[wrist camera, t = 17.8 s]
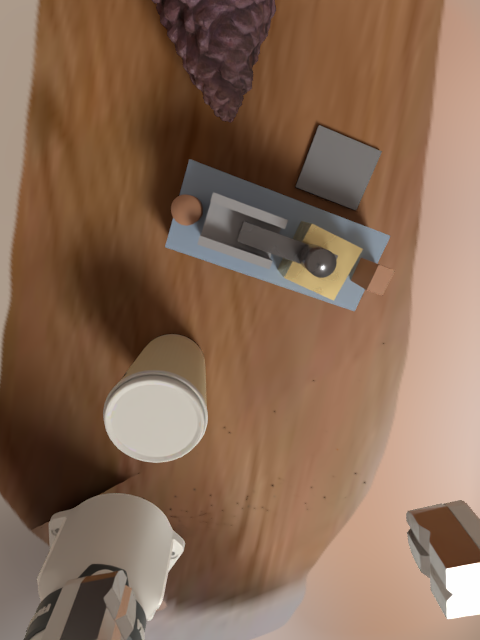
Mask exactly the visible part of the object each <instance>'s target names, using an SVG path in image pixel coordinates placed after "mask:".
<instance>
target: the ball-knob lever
mask: <svg viewBox="0 0 480 640" xmlns="http://www.w3.org/2000/svg"><path fill="white" fill-rule="evenodd" d="M237 242H240V243H243V244H245V245H248V246H251V247H254V248H257V249H260V250H262V251H265V252H268V253H271V254H274V255H277V256H279V257H282V258H285V259H288V260H291V261H294V262H296V263H299V264H301V265H302V266H303V267H304V268H305V269H307V270H308V271H309V272H310V273H311V274H313V275H314V276H316V277H319V278H324V277H327V276H329V275H331V274H332V273H333V271H334V270H335V268H336V264H337V261H336V260H337V257H338V255H336V254H334V253H332V252H331V251H329V250H327V249H325V248H322V247H320V246H318V245H315V244H310V245H309V244H306V243H303V242H301V241H298V240H295V239H292V238H290V237H287V236H284V235H281V234H279V233H276V232H273V231H270V230H268V229H265V228H262V227H259V226H257V225H254V224H251V223H248V222H246V221H243V222H242V225H241V228H240V231H239V234H238V237H237Z"/></svg>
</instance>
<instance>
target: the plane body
mask: <svg viewBox="0 0 480 640" xmlns="http://www.w3.org/2000/svg"><path fill="white" fill-rule="evenodd" d="M171 213H172V216H173V220H172V224H171V228H170V231H169V235H168V238H167V242H166V246H165V247H166V248H169V249H172V250H175V251H178V252H181V253H184V254H187V255H190V256H193V257H196V258H199V259H202V260H205V261H208V262H211V263H214V264H216V265H219V266H222V267H225V268H228V269H231V270H234V271H237V272H240V273H243V274H246V275H249V276H252V277H255V278H258V279H261V280H264V281H267V282H270V283H273V284H275V285H278V286H281V287H284V288H287V289H290V290H293V291H296V292H299V293H302V294H305V295H308V296H311V297H314V298H317V299H320V300H323V301H326V302H329V303H332V304H334V305H337V306H340V307H343V308H346V309H349V310H352V311H355V309H356V307H357V305H358V303H359V301H360V299H361V297H362V295H363V293H364V290H367V291H370V292H373V293H376V294H379V295H382V296H383V294H384V292H385V290H386V288H387V286H388V284H389V282H390V280H391V278H392V276H393V274H394V272H395V270H392V269H390V268H387V267H385V266H382V265H380V264H377V263H378V261H379V259H380V257H381V255H382V253H383V251H384V249H385V246H386V244H387V242H388V240H389V238H390V236H389V235H387V234H384V233H381V232H379V231H376V230H374V229H371V228H368V227H366V226H363V225H361V224H358V223H355V222H353V221H350V220H348V219H345V218H342V217H340V216H337V215H334V214H332V213H329V212H327V211H324V210H321V209H319V208H316V207H314V206H311V205H308V204H306V203H303V202H301V201H298V200H295V199H293V198H290V197H287V196H285V195H282V194H280V193H277V192H274V191H272V190H269V189H267V188H264V187H261V186H259V185H256V184H254V183H251V182H248V181H246V180H243V179H240V178H238V177H235V176H233V175H230V174H227V173H225V172H222V171H220V170H217V169H214V168H212V167H209V166H207V165H204V164H201V163H199V162H196V161H193V160H191V159H189V162H188V166H187V169H186V173H185V177H184V180H183V184H182V188H181V191H180V195H179V196H178V197H176V198H175V199H174V201H173V202H172V205H171ZM243 221H246V222H248V223H251V224H254V225H257V226H259V227H262V228H265V229H268V230H270V231H273V232H276V233H279V234H281V235H284V236H287V237H290V238H292V239H293V237H294V235H295V233H296V231H297V229H298V227H299V225H300V223H301V221H303V222H308V223H312V224H314V225H316V226H318V227H320V228H322V229H324V230H326V231H328V232H330V233H332V234H334V235H336V236H338V237H340V238H342V239H344V240H346V241H348V242H350V243H352V244H354V245H356V246H358V247H360V248H362V249H363V250H362V252H361V253H360V255H359V257H358V259H357V261H356V262H355V264H354V266H353V268H352V269H351V271H350V273H349V275H348V276H347V278H346V280H345V282H344V284H343V285H342V287H341V289H340V291H339V292H338V294H337V296H336V298H335V299H334V301H333V300H331V299H329V298H327V297H324V296H322V295H320V294H318V293H316V292H314V291H311V290H309V289H307V288H305V287H303V286H300V285H298V284H296V283H294V282H292V281H290V280H287V279H285V278H284V277H283V276H282V275H281V273H280V272H279V271H278V270H277V269H278V267H279V265H280V263H281V261H282V259H283V258H282V257H279V256H277V255H274V254H271V253H268V252H265V251H262V250H260V249H257V248H254V247H251V246H248V245H245V244H243V243H240V242H237V237H238V234H239V231H240V228H241V225H242V222H243Z"/></svg>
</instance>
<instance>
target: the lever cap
mask: <svg viewBox="0 0 480 640" xmlns="http://www.w3.org/2000/svg"><path fill="white" fill-rule="evenodd" d="M293 239H295V240H298V241H301V242H303V243H306V244H309V245H310V244H315V245H318V246H320V247H322V248H325V249H327V250H329V251H331V252H332V253H334V254H336V255H338V257H337V260H336V261H337V264H336V268H335V270H334V271H333V273H332V274H331V275H329V276H327V277H324V278H319V277H316V276H314V275H313V274H311V273H310V272H309V271H308V270H307V269H305V268H304V267H303V266H302V265H301V264H299V263H296V262H294V261H291V260H288V259H285V258H283V259H282V261H281V263H280V265H279V267H278V269H277V270H278V271H279V272H280V273H281V275H282V276H283V277H284V278H285V279H287V280H290V281H292V282H294V283H296V284H298V285H300V286H303V287H305V288H307V289H309V290H311V291H314V292H316V293H318V294H320V295H322V296H324V297H327V298H329V299H331V300H333V301H334V299H335V298H336V296H337V294H338V292H339V291H340V289H341V287H342V285H343V284H344V282H345V280H346V278H347V276H348V275H349V273H350V271H351V269H352V268H353V266H354V264H355V262H356V261H357V259H358V257H359V255H360V253H361V252H362V250H363V249H362V248H360V247H358V246H356V245H354V244H352V243H350V242H348V241H346V240H344V239H342V238H340V237H338V236H336V235H334V234H332V233H330V232H328V231H326V230H324V229H322V228H320V227H318V226H316V225H314V224H312V223H308V222H303V221H301V223H300V225H299V227H298V229H297V231H296V233H295V235H294V237H293Z"/></svg>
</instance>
